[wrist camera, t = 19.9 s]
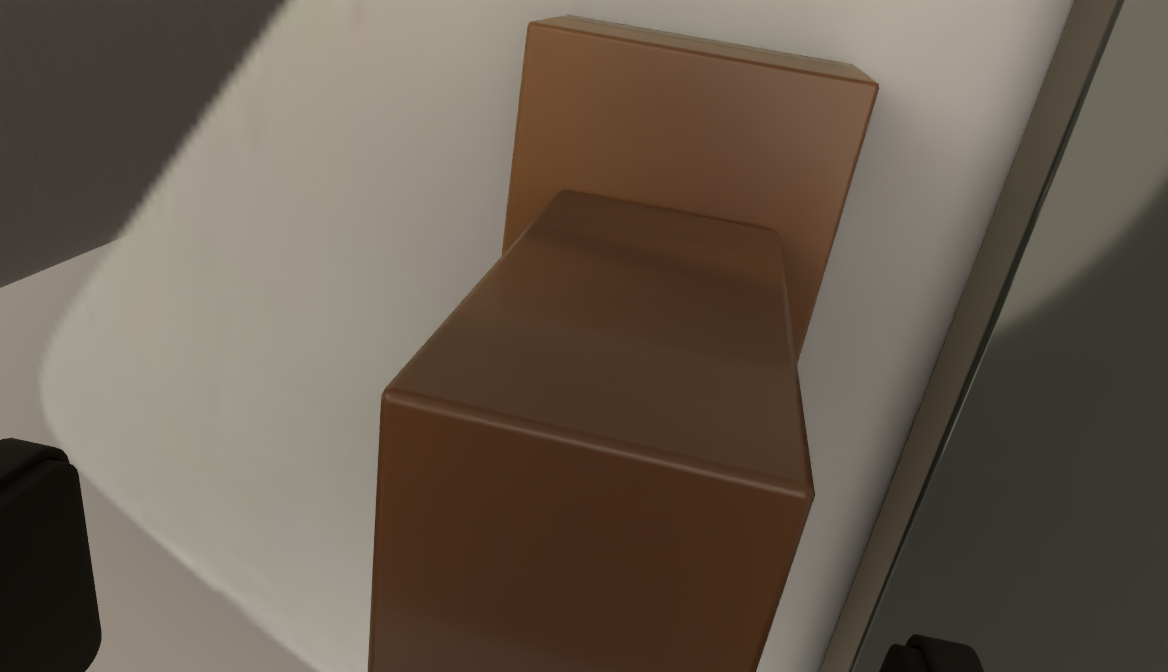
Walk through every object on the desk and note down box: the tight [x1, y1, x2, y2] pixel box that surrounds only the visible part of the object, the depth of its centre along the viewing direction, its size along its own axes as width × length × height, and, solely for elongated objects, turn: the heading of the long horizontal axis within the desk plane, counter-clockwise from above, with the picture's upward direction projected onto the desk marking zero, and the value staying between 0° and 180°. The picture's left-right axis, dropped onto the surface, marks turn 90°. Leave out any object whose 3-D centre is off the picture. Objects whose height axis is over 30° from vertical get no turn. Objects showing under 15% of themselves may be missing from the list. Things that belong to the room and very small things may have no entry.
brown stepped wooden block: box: [368, 15, 879, 672], centre depth 11 cm, size 4×12×8 cm, turn 172°
